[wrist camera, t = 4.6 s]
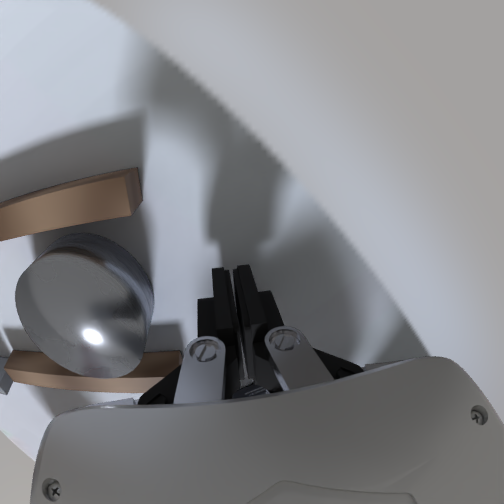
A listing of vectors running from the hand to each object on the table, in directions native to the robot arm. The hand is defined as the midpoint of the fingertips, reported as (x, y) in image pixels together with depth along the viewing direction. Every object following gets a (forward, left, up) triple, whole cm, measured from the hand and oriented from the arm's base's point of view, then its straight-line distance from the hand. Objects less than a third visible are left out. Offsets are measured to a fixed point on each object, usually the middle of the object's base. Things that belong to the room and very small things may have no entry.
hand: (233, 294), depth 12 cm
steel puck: (+7, 0, -2) cm, 8 cm away
